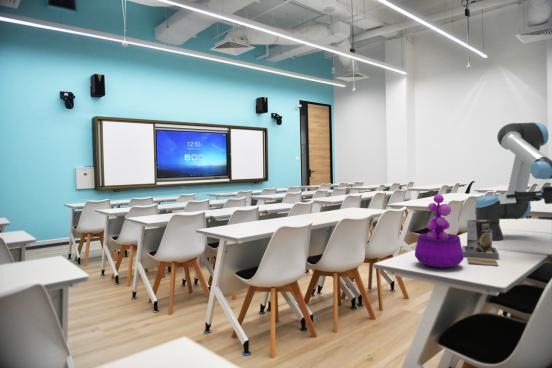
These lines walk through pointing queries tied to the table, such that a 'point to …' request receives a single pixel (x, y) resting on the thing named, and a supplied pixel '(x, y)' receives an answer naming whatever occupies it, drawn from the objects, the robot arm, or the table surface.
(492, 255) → the grey square tray
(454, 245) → the decorative plant
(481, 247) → the coffee box
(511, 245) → the table surface
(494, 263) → the walnut pad
